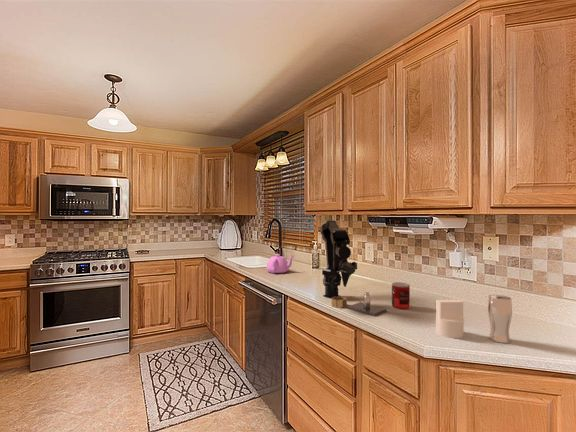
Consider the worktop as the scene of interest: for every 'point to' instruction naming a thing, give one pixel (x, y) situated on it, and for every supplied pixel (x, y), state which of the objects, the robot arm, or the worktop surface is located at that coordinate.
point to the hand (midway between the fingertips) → (339, 288)
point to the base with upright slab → (449, 318)
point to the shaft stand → (367, 307)
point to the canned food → (400, 295)
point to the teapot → (278, 264)
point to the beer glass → (500, 317)
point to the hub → (339, 302)
